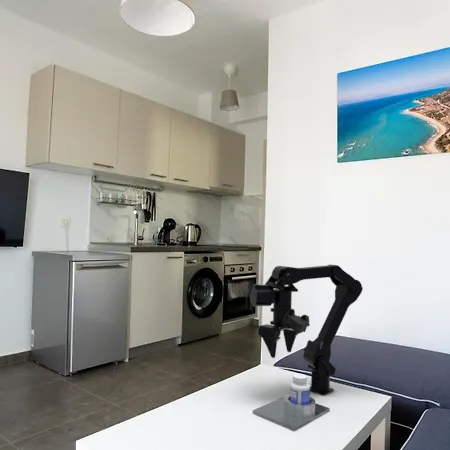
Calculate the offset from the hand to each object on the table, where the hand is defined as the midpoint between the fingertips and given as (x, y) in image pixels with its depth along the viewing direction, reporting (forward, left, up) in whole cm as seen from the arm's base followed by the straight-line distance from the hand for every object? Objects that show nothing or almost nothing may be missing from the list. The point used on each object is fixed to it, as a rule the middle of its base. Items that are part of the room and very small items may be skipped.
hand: (281, 354), depth 126 cm
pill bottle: (+7, +12, -12) cm, 18 cm away
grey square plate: (+8, +10, -12) cm, 18 cm away
